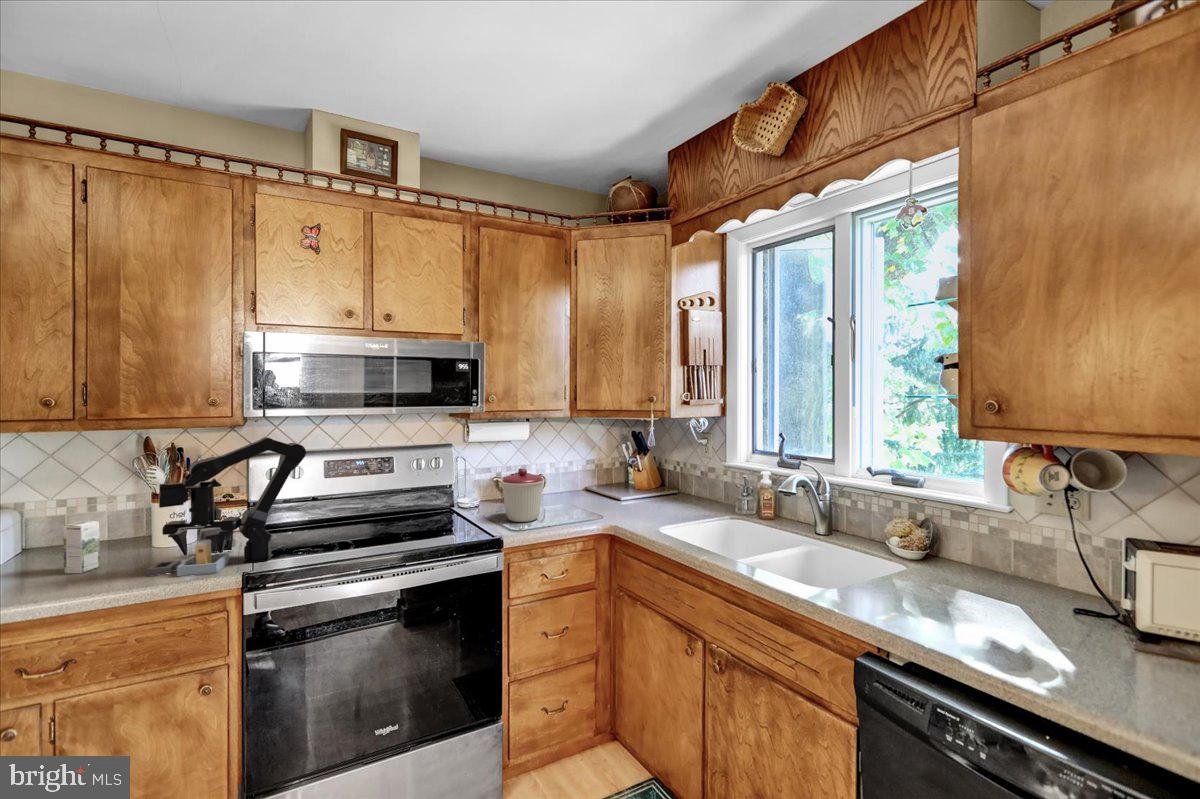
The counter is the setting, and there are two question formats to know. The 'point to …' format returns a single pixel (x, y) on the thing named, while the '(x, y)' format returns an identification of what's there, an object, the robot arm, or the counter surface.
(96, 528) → the syrup box
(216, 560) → the parts tray
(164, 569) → the block
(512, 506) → the canister
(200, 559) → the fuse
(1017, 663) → the counter surface
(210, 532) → the electrical switch
